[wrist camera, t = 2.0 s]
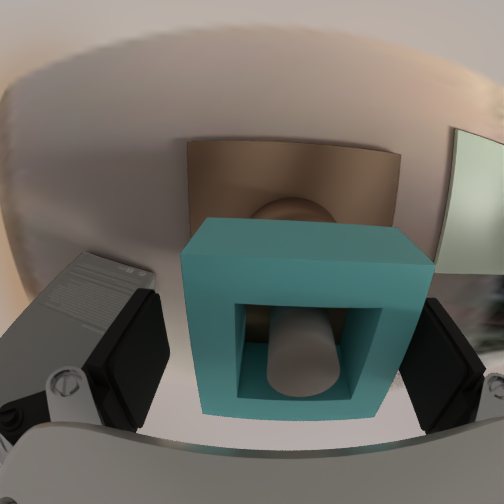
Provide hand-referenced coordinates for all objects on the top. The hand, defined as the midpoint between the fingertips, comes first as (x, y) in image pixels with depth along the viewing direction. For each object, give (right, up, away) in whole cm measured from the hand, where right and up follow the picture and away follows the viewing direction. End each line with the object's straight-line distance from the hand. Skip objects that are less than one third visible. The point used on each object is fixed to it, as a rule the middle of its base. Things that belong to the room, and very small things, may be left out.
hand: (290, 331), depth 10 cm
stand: (+1, +3, +8) cm, 9 cm away
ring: (0, +1, +2) cm, 2 cm away
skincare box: (-12, -1, +12) cm, 16 cm away
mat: (+16, +6, +6) cm, 18 cm away
